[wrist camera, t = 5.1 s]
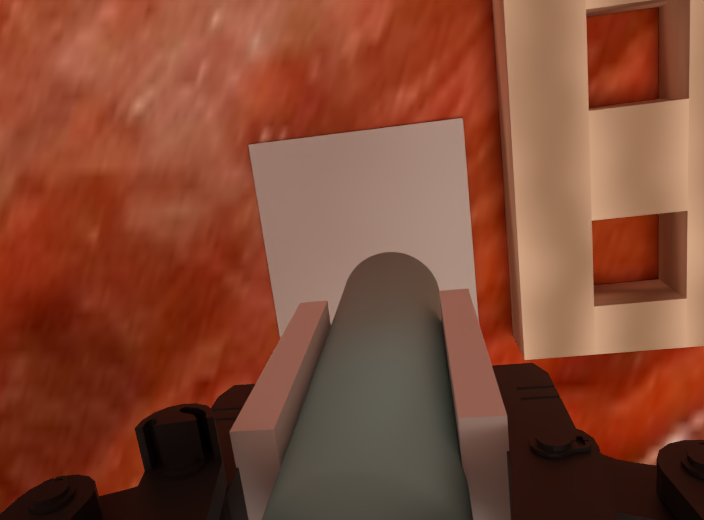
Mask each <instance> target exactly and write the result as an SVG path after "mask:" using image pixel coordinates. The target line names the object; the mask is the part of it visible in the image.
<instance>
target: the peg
mask: <svg viewBox="0 0 704 520" xmlns="http://www.w3.org/2000/svg"><path fill="white" fill-rule="evenodd" d="M262 520H473V514H472V507H471V501H470V494H469V488H468V482H467V479H466V476H465V473H464V471H463V469H462V461H461V454H460V447H459V440H458V433H457V426H456V419H455V412H454V405H453V397H452V390H451V383H450V376H449V369H448V362H447V355H446V348H445V341H444V333H443V326H442V317H441V306H440V295H439V287H438V284H437V281H436V279H435V277H434V275H433V274H432V272H431V271H430V270H429V269H428V267H427V266H426V265H424V264H423V263H422V262H421V261H419V260H418V259H416V258H414V257H412V256H410V255H407V254H403V253H399V252H384V253H379V254H376V255H373V256H371V257H368V258H367V259H365V260H363V261H362V262H361V263H360V264H358V265H357V266H356V267H355V269H354V270H353V271H352V273H351V274H350V276H349V278H348V280H347V282H346V285H345V288H344V291H343V294H342V296H341V299H340V302H339V305H338V308H337V310H336V313H335V316H334V319H333V322H332V324H331V327H330V330H329V333H328V336H327V338H326V341H325V344H324V347H323V350H322V352H321V355H320V358H319V361H318V363H317V366H316V369H315V372H314V375H313V377H312V380H311V383H310V386H309V389H308V391H307V394H306V397H305V400H304V403H303V405H302V408H301V411H300V414H299V417H298V419H297V422H296V425H295V428H294V431H293V433H292V436H291V439H290V442H289V445H288V447H287V450H286V453H285V456H284V459H283V461H282V464H281V467H280V470H279V472H278V475H277V478H276V481H275V484H274V486H273V489H272V492H271V495H270V498H269V500H268V503H267V506H266V509H265V512H264V514H263V517H262Z"/></svg>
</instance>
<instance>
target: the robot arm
mask: <svg viewBox="0 0 704 520" xmlns="http://www.w3.org/2000/svg"><path fill="white" fill-rule="evenodd" d="M439 295H440V306H441V317H442V326H443V333H444V341H445V348H446V355H447V362H448V369H449V376H450V383H451V390H452V397H453V405H454V412H455V419H456V426H457V433H458V440H459V447H460V454H461V461H462V469H463V471H464V473H465V476H466V479H467V482H468V488H469V494H470V501H471V507H472V514H473V520H704V440H683V441H679V442H674V443H670V444H668V445H666V446H665V447H664V448H662V449H661V450H659V453H658V457H657V466H655V465H648V464H640V463H633V462H627V461H622V460H617V459H614V458H611V457H608V456H605V455H603V454H601V453H600V449H599V446H598V445H597V443H596V441H595V440H594V438H592V437H591V436H589V435H588V434H586V433H585V432H583V431H581V430H578V429H576V428H575V426H574V424H573V422H572V420H571V418H570V416H569V414H568V412H567V410H566V408H565V406H564V404H563V402H562V400H561V398H560V397H559V394H558V392H557V390H556V388H554V384H553V382H552V380H551V378H550V376H549V374H548V373H547V372H546V371H544V370H543V369H541V368H540V367H538V366H537V365H535V364H533V363H524V364H510V365H496V366H492V365H491V361H490V358H489V355H488V351H487V348H486V345H485V342H484V338H483V335H482V332H481V329H480V325H479V322H478V319H477V316H476V312H475V309H474V306H473V302H472V299H471V296H470V293H469V289H468V288H467V289H455V290H443V291H439ZM330 327H331V323H330V316H329V309H328V301H315V302H304V303H300V304H299V305H298V307H297V309H296V311H295V313H294V315H293V316H292V318H291V320H290V322H289V324H288V326H287V327H286V329H285V331H284V333H283V335H282V337H281V338H280V340H279V342H278V344H277V346H276V348H275V349H274V351H273V353H272V355H271V357H270V358H269V360H268V362H267V364H266V366H265V368H264V369H263V371H262V373H261V375H260V377H259V379H258V380H257V382H256V384H248V385H234V386H233V387H231V388H230V389H229V390H227V391H226V392H225V393H223V394H222V395H220V396H219V397H218V398H217V400H216V401H215V403H214V404H213V406H212V408H209V407H208V406H206V405H201V404H181V405H177V406H172V407H168V408H165V409H163V410H160V411H158V412H155V413H153V414H151V415H150V416H148V417H147V418H145V419H143V420H142V421H141V422H140V423H139V424H138V425H137V426H136V428H135V431H136V435H137V440H138V444H139V448H140V452H141V457H142V461H143V465H144V470H145V473H144V475H143V477H142V479H141V481H140V483H139V485H138V486H137V487H134V488H131V489H127V490H123V491H119V492H115V493H111V494H107V495H103V496H99V495H98V492H97V488H96V484H95V481H94V480H92V479H91V478H90V477H89V476H83V475H70V476H60V477H56V478H55V479H54V478H52V479H49V480H47V481H44V482H43V483H42V484H40V485H38V486H36V487H34V488H32V489H30V490H29V491H28V492H26V493H25V494H23V495H22V496H21V497H19V498H18V499H17V500H16V501H15V502H13V503H12V504H11V505H10V506H9V507H8V508H7V509H6V510H5V511H4V512H2V513H1V514H0V520H262V517H263V514H264V512H265V509H266V506H267V503H268V500H269V498H270V495H271V492H272V489H273V486H274V484H275V481H276V478H277V475H278V472H279V470H280V467H281V464H282V461H283V459H284V456H285V453H286V450H287V447H288V445H289V442H290V439H291V436H292V433H293V431H294V428H295V425H296V422H297V419H298V417H299V414H300V411H301V408H302V405H303V403H304V400H305V397H306V394H307V391H308V389H309V386H310V383H311V380H312V377H313V375H314V372H315V369H316V366H317V363H318V361H319V358H320V355H321V352H322V350H323V347H324V344H325V341H326V338H327V336H328V333H329V330H330Z"/></svg>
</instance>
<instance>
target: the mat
mask: <svg viewBox="0 0 704 520" xmlns="http://www.w3.org/2000/svg"><path fill="white" fill-rule="evenodd" d="M248 146H249V152H250V158H251V164H252V171H253V177H254V183H255V189H256V195H257V201H258V207H259V213H260V219H261V225H262V231H263V237H264V244H265V250H266V256H267V262H268V268H269V274H270V280H271V286H272V292H273V298H274V304H275V310H276V316H277V323H278V329H279V335H280V338H281V337H282V335H283V333H284V331H285V329H286V327H287V326H288V324H289V322H290V320H291V318H292V316H293V315H294V313H295V311H296V309H297V307H298V305H299V304H300V303H304V302H315V301H328V309H329V316H330V323H331V324H332V322H333V319H334V316H335V313H336V310H337V308H338V305H339V302H340V299H341V296H342V294H343V291H344V288H345V285H346V282H347V280H348V278H349V276H350V274H351V273H352V271H353V270H354V269H355V267H356V266H357V265H358V264H360V263H361V262H362V261H363V260H365V259H367V258H368V257H371V256H373V255H376V254H379V253H384V252H399V253H403V254H407V255H410V256H412V257H414V258H416V259H418V260H419V261H421V262H422V263H423V264H424V265H426V266H427V267H428V269H429V270H430V271H431V272H432V274H433V275H434V277H435V279H436V281H437V284H438V287H439V291H443V290H455V289H467V288H468V289H469V293H470V296H471V299H472V302H473V306H474V309H475V312H476V316H477V319H478V308H477V295H476V282H475V269H474V256H473V243H472V230H471V217H470V204H469V191H468V178H467V166H466V153H465V140H464V127H463V118H457V119H449V120H441V121H433V122H425V123H417V124H409V125H401V126H393V127H385V128H377V129H369V130H361V131H353V132H345V133H337V134H329V135H321V136H313V137H305V138H297V139H289V140H281V141H273V142H265V143H257V144H249V145H248ZM478 322H479V320H478Z"/></svg>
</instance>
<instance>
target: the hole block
mask: <svg viewBox="0 0 704 520" xmlns="http://www.w3.org/2000/svg"><path fill="white" fill-rule="evenodd" d="M492 7H493V23H494V39H495V55H496V71H497V86H498V102H499V118H500V134H501V150H502V166H503V182H504V198H505V214H506V229H507V245H508V261H509V277H510V293H511V309H512V325H513V336H514V338H515V341H516V343H517V345H518V347H519V349H520V351H521V353H522V355H523V358H524V360H530V359H542V358H555V357H568V356H581V355H593V354H606V353H619V352H632V351H644V350H657V349H670V348H682V347H695V346H704V0H492ZM654 7H659V99H656V100H648V101H640V102H632V103H624V104H616V105H608V106H600V107H591V108H589V103H588V66H587V30H586V17H590V16H597V15H604V14H611V13H618V12H625V11H632V10H639V9H647V8H654ZM650 214H659V279H656V280H645V281H634V282H623V283H612V284H601V285H593V249H592V220H602V219H611V218H621V217H631V216H640V215H650Z"/></svg>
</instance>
